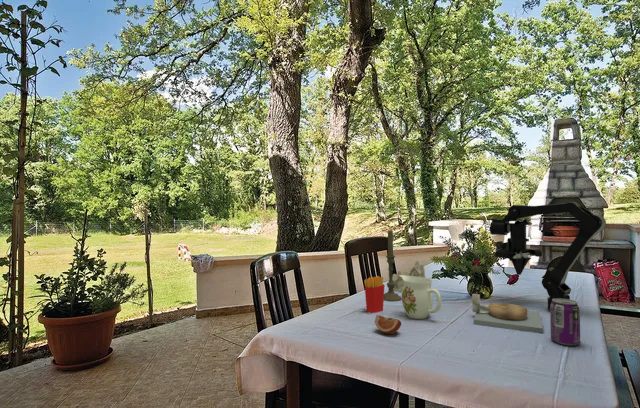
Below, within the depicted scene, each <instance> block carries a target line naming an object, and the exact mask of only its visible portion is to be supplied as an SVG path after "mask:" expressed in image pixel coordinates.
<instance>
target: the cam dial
mask: <svg viewBox="0 0 640 408" xmlns="http://www.w3.org/2000/svg"><path fill="white" fill-rule="evenodd" d="M471 297H472V298H471V300H472V301H471V303H472V304H471V307H472V308H471V309H472V312H473V313H476V312H480V310H483V311H489V314H490V315H491V316H494V317H497V318H501V319H507V320H524V319H527V311H528V308H526V307H524V306H522V305H520V304H519V305H518V304H513V303H508V302H507V303H505V302H497V303H496V302H493V303H490V304H488V305H486V304H481V295H480V294H478V293H472V294H471Z"/></svg>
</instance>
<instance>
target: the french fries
mask: <svg viewBox="0 0 640 408" xmlns="http://www.w3.org/2000/svg"><path fill="white" fill-rule="evenodd" d="M363 281H364V293H365V296H364V297H365V307H366V308H365V309H366V312H367V313H371V314H375V313H381V312H383V310H384V302H385V300H384V294H385V284H384V276H379V275H377V276H370V277H368V278H366V279H364V280H363Z"/></svg>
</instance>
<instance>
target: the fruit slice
mask: <svg viewBox="0 0 640 408" xmlns="http://www.w3.org/2000/svg"><path fill="white" fill-rule="evenodd" d="M374 324H375V326H376V328H377V330H379V331H380V332H381V333H383V334H386V335H391V334H394V333H396V332H398V330H399V329H400V328H401V326H402V321H400V319H396V318H392V317H385V316H382V315H378V314H377V315H376V316H375V320H374Z"/></svg>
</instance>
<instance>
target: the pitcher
mask: <svg viewBox="0 0 640 408" xmlns="http://www.w3.org/2000/svg"><path fill="white" fill-rule="evenodd" d="M399 276H400V277H401V278H402V279H403V284H404V286H403V289H402V292H401V298H402V299H401V303H402V307H403V309H404V312H405V314H406V315H407V317H409V318H410V319H417V320H424V319H427V318H428V316H429V315H430V314H435V313H437V312H438V311H440V310H441V306H442V296H441V294H440V292H439V291H438V290H437V289H436V288H432V282H433V280H432V279H430V278H427V277H426V278H423V277H416V276H408V275H399ZM433 294H435V296H436V299H437V302H436V303H437V304H436V306H435V307H434V308H433V304H434V303H433V302H434V295H433ZM432 308H433V309H432Z"/></svg>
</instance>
